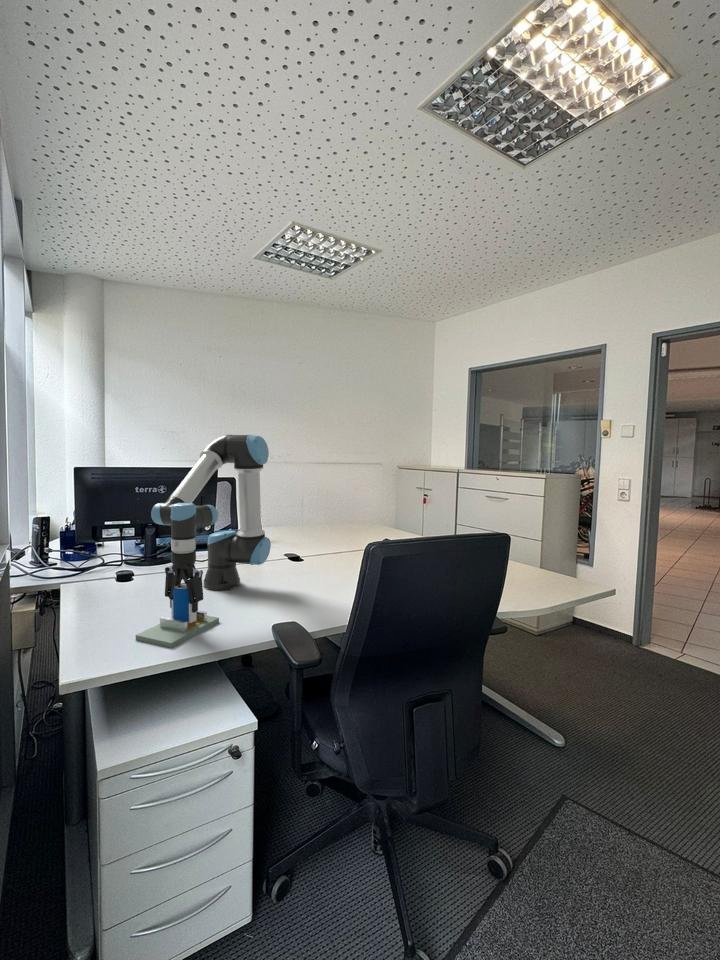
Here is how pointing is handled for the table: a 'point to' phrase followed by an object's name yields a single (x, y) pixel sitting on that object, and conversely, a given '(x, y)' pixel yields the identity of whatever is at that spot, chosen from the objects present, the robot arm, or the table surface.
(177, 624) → the chute bracket
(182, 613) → the beverage can
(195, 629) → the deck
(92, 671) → the table surface
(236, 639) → the table surface
